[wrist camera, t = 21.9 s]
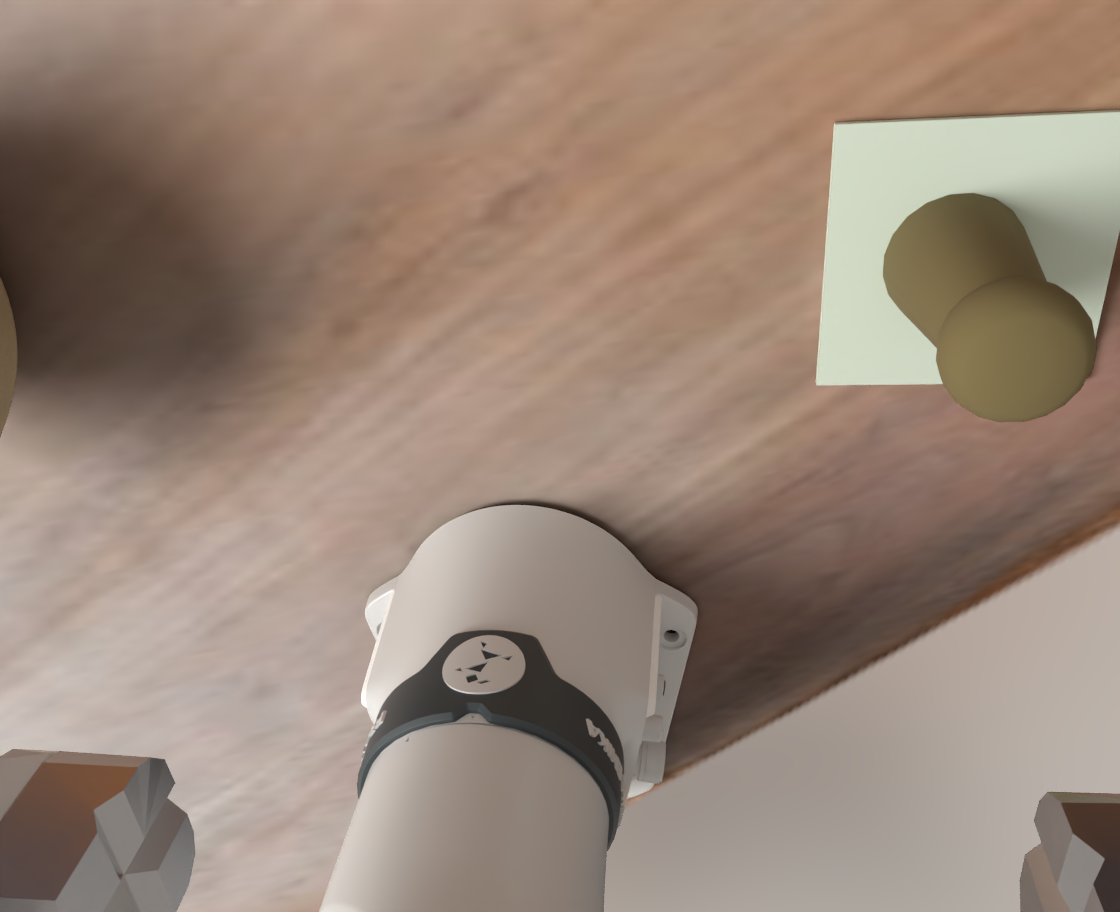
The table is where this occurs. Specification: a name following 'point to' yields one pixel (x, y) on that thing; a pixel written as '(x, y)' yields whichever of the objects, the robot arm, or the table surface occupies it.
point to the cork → (988, 309)
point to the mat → (955, 168)
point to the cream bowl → (6, 356)
